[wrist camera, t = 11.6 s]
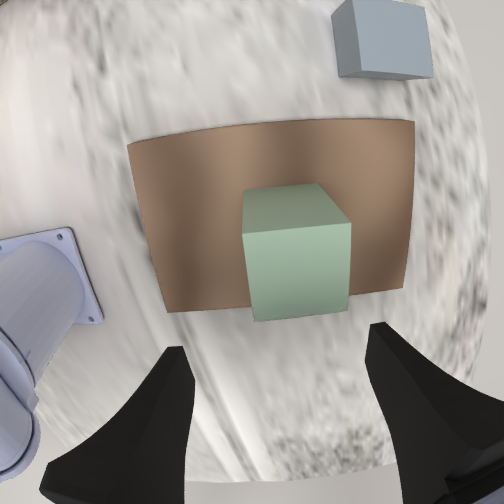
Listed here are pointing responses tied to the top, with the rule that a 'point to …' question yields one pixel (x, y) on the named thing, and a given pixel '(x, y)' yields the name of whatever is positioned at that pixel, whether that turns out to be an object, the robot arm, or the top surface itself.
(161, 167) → the walnut board
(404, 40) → the slate block
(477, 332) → the top surface
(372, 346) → the robot arm
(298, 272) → the sage block
